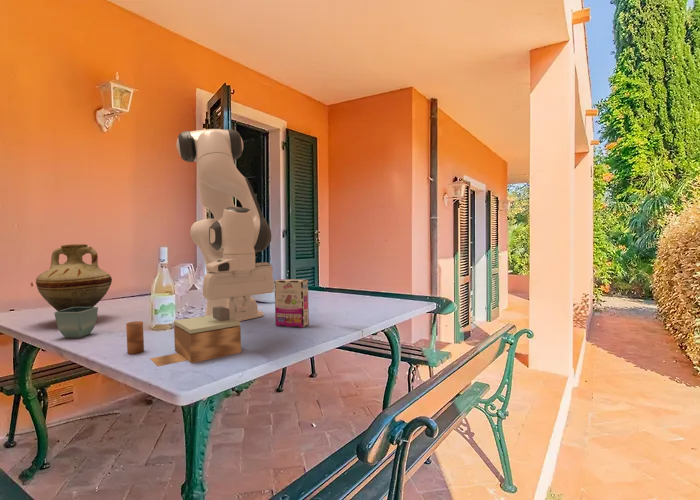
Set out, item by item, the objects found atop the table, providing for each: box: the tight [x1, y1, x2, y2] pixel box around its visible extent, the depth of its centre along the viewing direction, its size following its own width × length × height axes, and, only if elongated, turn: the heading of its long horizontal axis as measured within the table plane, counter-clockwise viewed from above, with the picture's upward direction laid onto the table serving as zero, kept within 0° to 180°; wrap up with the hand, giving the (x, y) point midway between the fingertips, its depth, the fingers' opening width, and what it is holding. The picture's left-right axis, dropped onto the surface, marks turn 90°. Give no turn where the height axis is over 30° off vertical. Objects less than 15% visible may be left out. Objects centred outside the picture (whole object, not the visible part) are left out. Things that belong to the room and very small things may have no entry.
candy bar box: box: [273, 278, 310, 329], centre depth 140 cm, size 11×5×16 cm, turn 71°
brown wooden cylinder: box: [125, 320, 145, 355], centre depth 107 cm, size 4×4×9 cm
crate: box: [149, 324, 242, 367], centre depth 105 cm, size 20×14×8 cm
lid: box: [173, 306, 241, 334], centre depth 107 cm, size 13×14×4 cm
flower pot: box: [54, 306, 99, 339], centre depth 130 cm, size 9×9×9 cm
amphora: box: [35, 243, 113, 312], centre depth 150 cm, size 24×24×30 cm
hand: (240, 311), depth 113 cm, fingers closed
